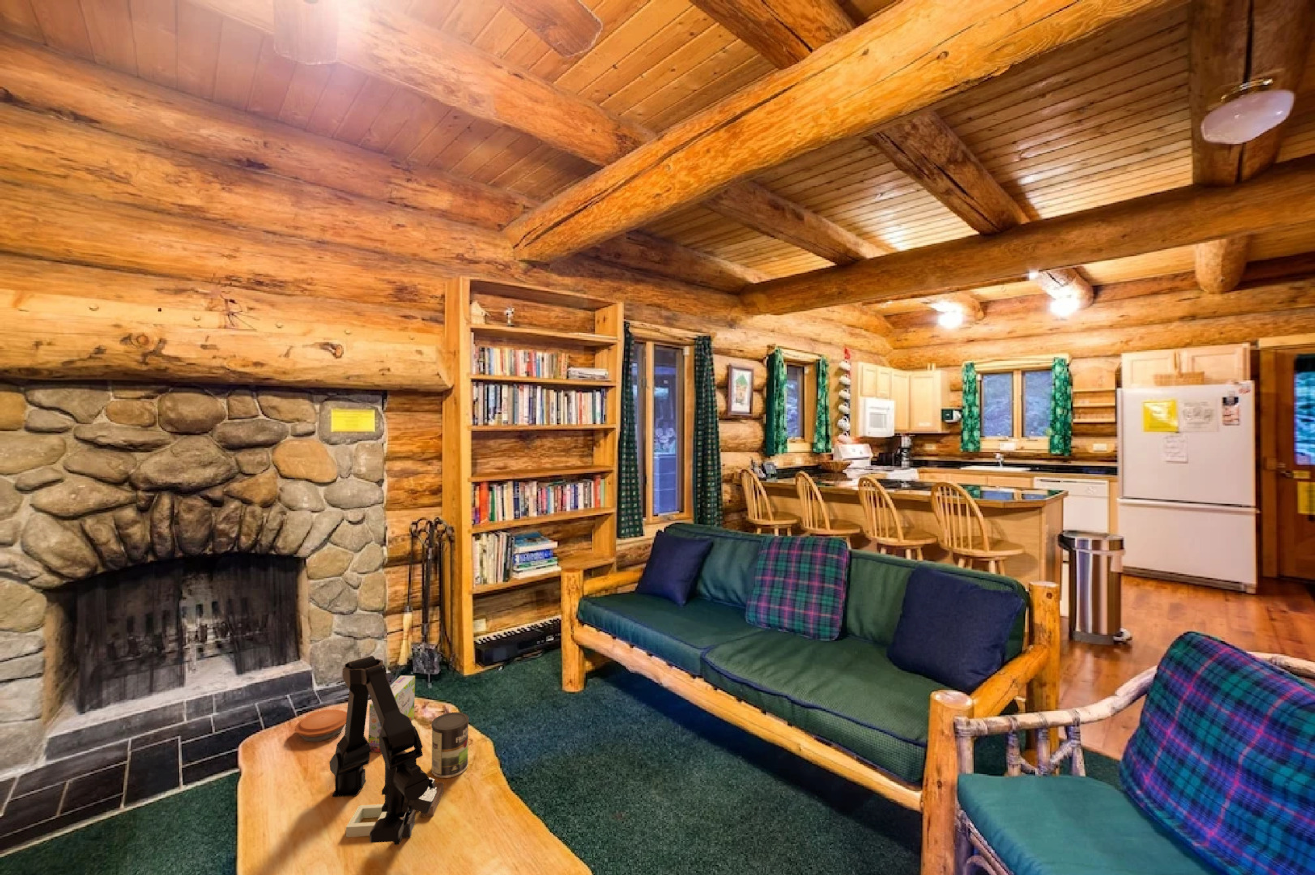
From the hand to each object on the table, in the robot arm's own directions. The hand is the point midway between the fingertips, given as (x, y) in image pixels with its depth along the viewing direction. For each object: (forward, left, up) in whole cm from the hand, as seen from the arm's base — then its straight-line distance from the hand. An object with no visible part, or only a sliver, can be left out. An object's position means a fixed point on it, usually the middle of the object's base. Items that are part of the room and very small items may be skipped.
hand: (397, 843), depth 136 cm
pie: (-42, +55, -2) cm, 69 cm away
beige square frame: (-10, +9, -1) cm, 14 cm away
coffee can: (+4, +32, -2) cm, 32 cm away
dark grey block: (0, +6, -1) cm, 6 cm away
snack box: (-19, +52, -2) cm, 55 cm away
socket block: (0, +16, -1) cm, 16 cm away
